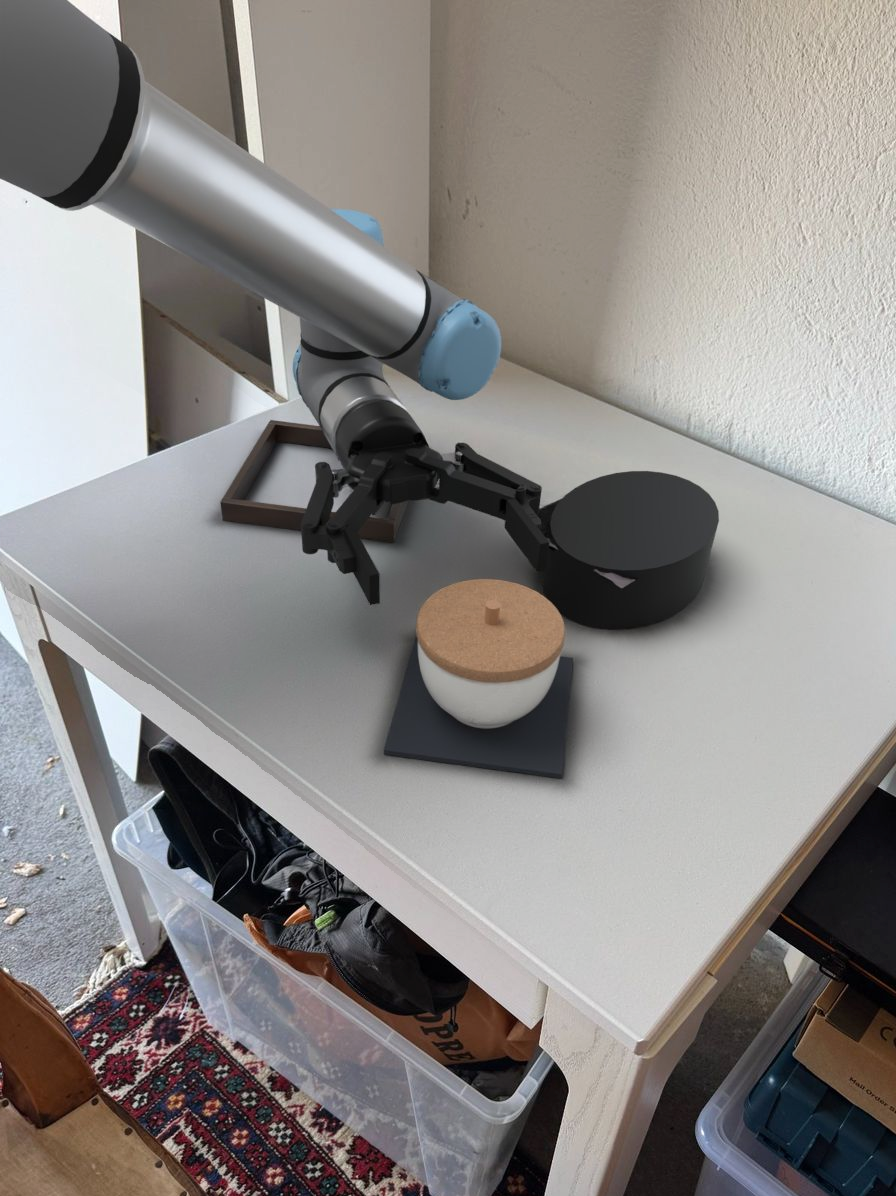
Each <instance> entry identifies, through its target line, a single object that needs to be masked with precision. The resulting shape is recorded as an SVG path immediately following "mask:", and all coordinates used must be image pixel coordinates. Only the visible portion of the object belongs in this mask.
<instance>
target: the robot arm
mask: <svg viewBox="0 0 896 1196" xmlns="http://www.w3.org/2000/svg"><path fill="white" fill-rule="evenodd" d="M0 180H3V181H5V182H7V183H9V184H10V185H13V186H15V187H17V188H19V189H22V190H24V191H26V192H28V193H30V194H32V195H34V196H35V197H38V198H40V199H42V200H44V201H46V202H47V203H50V204H52V205H53V206H55V207H57V208H59V209H61V210H64V211H68V212H69V211H71V212H74V211H75V212H76V211H80V210H82V209H86V208H87V207H90V206H93V207H94V208H96V209H99V210H101V211H102V212H103V213H106V214H107V215H110V216H111V217H113V218H115V219H117V220H119V221H120V222H122V223H124V224H127V225H128V226H130V227H132V228H133V229H136V230H137V231H139V232H141V233H143V234H145V235H147V236H149V237H150V238H152V239H154V240H156V241H158V242H160V243H162V244H163V245H165V246H166V247H168V248H171V249H173V250H174V251H176V252H178V253H180V254H182V255H183V256H185V257H188V258H189V259H191V260H193V261H194V262H197V263H198V264H200V265H202V266H204V267H206V268H208V269H210V270H211V271H213V272H215V273H217V274H219V275H220V276H223V277H225V279H228V280H229V281H232V282H233V283H235V284H237V285H239V286H241V287H242V288H244V289H247V290H248V291H250V292H252V293H254V294H255V295H258V296H259V297H261V298H263V299H265V300H267V301H269V302H270V303H273V304H274V305H276V306H278V307H280V308H281V309H283V310H285V311H286V312H288V313H290V314H292V315H294V316H296V317H298V318H299V325H300V342H299V345H298V348H297V350H296V351H295V354H294V356H293V360H292V375H293V378H294V381H295V386H296V390H297V392H298V394H299V396H300V397H301V399H302V402H303V403H304V405H305V406H306V407H307V409H308V410H309V411H310V413H311V415H312V417H313V418H314V419H315V421H316V423H317V424H318V426H320V428H321V429H322V431H323V432H324V435H325V436H326V438H327V440H328V442H329V443H330V445H331V447H332V448H331V449H332V450H333V452H334V454H335V455H336V457H337V459H338V461H339V463H340V464H341V466H342V468H338V469H332V468H331V465H330V463H329V462H326V461H319V462H316V463H315V465H314V469H315V470H314V474H315V483H314V487H313V490H312V493H311V495H310V498H309V500H308V503H307V505H306V507H305V508H306V511H305V514H304V516H303V519H302V522H301V530H300V532H301V533H300V535H301V547H302V548H301V549H302V552H303V554H306V555H315V554H316V553H318V551H319V550H323V551H326V552H327V555H326V556H327V560H328V562H329V563H331V564H335V565H336V567H337V569H338V571H339V572H340V573H342V574H343V575H346V574H353V575H354V577H355V579H356V581H357V583H358V585H359V588H360V590H361V591H362V593H363V594H364V596H365V599H366V600H367V602H368V604H369V606H374V605H378V604H379V605H380V604H381V599H380V598H381V589H380V588H381V585H380V584H381V582H380V578H381V576H380V575H381V574H380V572H379V570H378V568H377V567H376V564H375V562H374V561H373V559H372V557H371V555H370V554H369V551H368V550H367V548H366V546H365V543H363V540H362V538H360V537H359V535H358V534H357V533H358V531H359V530H360V529H361V527H362V526H363V525H364V523H365V522H366V521H367V519H368V518H369V517H372V516H375V515H376V514H377V513H378V512H379V510H380V509H381V508H382V506H383V505H384V504H385V503H390V505H392V504H397V503H401V502H404V501H407V500H408V501H421V500H429V501H433V502H435V503H438V504H441V505H444V504H446V503H448V502H450V503H452V504H453V503H454V504H455V505H459V506H462V507H465V508H468V509H470V510H473V511H477V512H479V513H482V514H485V515H488V516H491V517H494V518H497V519H500V520H503V521H504V526H503V527H504V529H505V531H506V532H507V534H508V536H510V538H511V540H513V542H514V543H515V545H516V546H517V548H519V550H520V552H521V553H522V554H523V556H524V557H525V558H526V560H527V561H528V563H529V564H530V565H531V567H532V568H533V570H534V571H535V572H536V573H537V574H538V573H544V571H546V565H547V557H548V549H549V541H548V540H547V539H546V538H545V536H544V535H543V534H542V532H541V520H540V519H539V517H538V516H537V515H538V514H539V509H540V508H541V500H542V499H541V498H542V490H543V487H542V485H540V484H538V483H536V482H534V481H532V480H530V479H528V478H526V477H524V476H523V475H521V474H518V473H517V472H515V471H513V470H511V469H509V468H507V467H505V466H502V464H499V463H496V462H495V461H493V460H491V459H488V458H487V457H485V456H483V455H481V454H479V453H477V452H476V451H475V450H474V449H473V448H472V447H471V446H470V445H469V444H468V443H466V442H457V443H455V445H454V452H449V453H444V454H441V453H440V452H438V451H437V450H435V449H433V448H432V447H430V445H429V443H428V441H427V438H426V437H425V435H424V432H423V431H422V429H421V428H420V426H419V425H418V424H417V422H416V421H415V419H414V418H413V416H412V415H411V414H410V413H409V411H408V410H407V407H406V406H405V405H404V404H403V402H402V400H401V399H400V398H399V397H398V395H397V394H396V392H395V391H394V390H393V389H392V388H391V386H390V385H389V383H388V381H386V379H385V378H384V377H385V376H384V373H383V372H384V371H383V365H385V366H387V367H389V368H391V369H393V370H394V371H397V372H398V373H400V374H402V375H404V376H406V377H407V378H409V379H410V380H412V381H414V382H416V383H417V384H418V385H420V387H422V388H423V389H424V390H426V391H428V392H431V393H432V392H433V393H435V394H437V395H439V396H440V397H442V398H444V399H447V400H449V401H462V400H466V399H468V398H471V397H473V396H474V395H476V394H478V393H479V391H481V390H482V389H483V388H485V386H486V385H487V384H488V383H489V381H490V380H491V378H492V377H491V376H492V375H493V374H494V371H495V369H496V368H497V367H498V364H499V361H500V357H501V353H502V336H501V335H502V334H501V330H500V329H499V328H500V327H499V326H498V323H497V322H496V320H495V319H494V318H493V317H492V315H490V314H488V313H487V311H484V310H482V309H481V308H479V307H478V306H477V305H476V304H475V303H473V301H471V300H469V299H467V298H464V299H463V298H461V297H460V296H458V295H456V294H454V293H453V292H451V291H449V290H448V289H446V288H444V287H443V286H442V285H440V284H439V283H438V282H436V281H435V280H434V279H432V278H430V277H428V275H426V274H424V273H423V272H421V271H419V270H417V269H416V268H415V267H414V266H413V265H412V264H411V263H409V262H407V261H406V260H404V259H403V258H401V257H400V256H398V255H397V254H396V253H394V252H393V251H392V250H391V249H389V248H387V247H386V246H385V244H384V239H383V229H382V227H381V225H380V224H379V222H378V220H377V219H376V218H374V216H371V215H370V214H367V213H365V212H361V211H358V210H354V209H353V210H352V209H345V208H329V207H328V206H326V205H325V204H324V203H322V202H320V201H319V200H318V199H316V198H315V197H313V196H312V195H311V194H309V193H308V192H306V191H305V190H303V189H302V188H300V187H299V186H298V185H296V184H295V183H293V182H292V181H290V180H289V179H287V178H286V177H284V176H283V175H282V174H280V173H279V172H277V171H276V170H275V169H273V168H272V167H270V166H268V165H267V164H266V163H264V162H263V161H262V160H260V159H259V158H257V157H256V156H255V155H253V154H252V153H250V152H248V151H247V150H246V149H244V148H242V147H241V146H239V145H238V144H237V143H235V142H234V141H232V140H231V139H230V138H228V137H227V136H225V135H224V134H222V133H221V132H219V131H218V130H216V129H215V128H213V127H212V126H211V125H209V124H208V123H206V122H205V121H204V120H202V119H201V118H199V117H198V116H197V115H195V114H194V113H192V112H191V111H189V110H188V109H186V108H185V107H183V106H182V105H180V104H179V103H177V102H176V101H175V100H173V99H172V98H170V97H169V96H167V95H166V94H165V93H163V92H162V91H160V90H159V89H157V88H156V87H154V86H153V85H152V84H150V83H149V82H147V81H146V79H145V74H144V70H143V66H142V63H141V61H140V59H139V57H138V55H137V53H136V52H135V51H134V50H133V49H132V48H131V47H130V46H128V45H127V44H125V43H124V42H123V41H121V40H120V39H118V38H117V37H116V36H115V35H113V34H111V33H110V32H109V31H108V30H106V29H105V28H103V27H102V26H101V25H99V24H98V23H97V22H96V21H94V20H93V19H92V18H90V17H89V15H87V14H85V13H84V12H83V11H82V10H80V9H79V8H78V7H77V6H76V5H75V4H73V3H72V2H70V1H69V0H0ZM438 483H439V484H438ZM437 484H438V488H437V487H436V486H437ZM347 485H348V487H349V488H350V489H352V491H351V493H350V494H349V495H348V497H347V498H346V499H345V500H344V502H342V504H341V505H340V506H339V507H338V509H336V511H334V512H335V514H334V515H333V516H332V517H331V519H330V520H329V517H330V514H331V512H333V508H334V503H335V500H334V498H335V499H336V498H339V495H340V493H339V492H341V491H342V490H343V487H344V486H347ZM328 520H329V521H328Z"/></svg>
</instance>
